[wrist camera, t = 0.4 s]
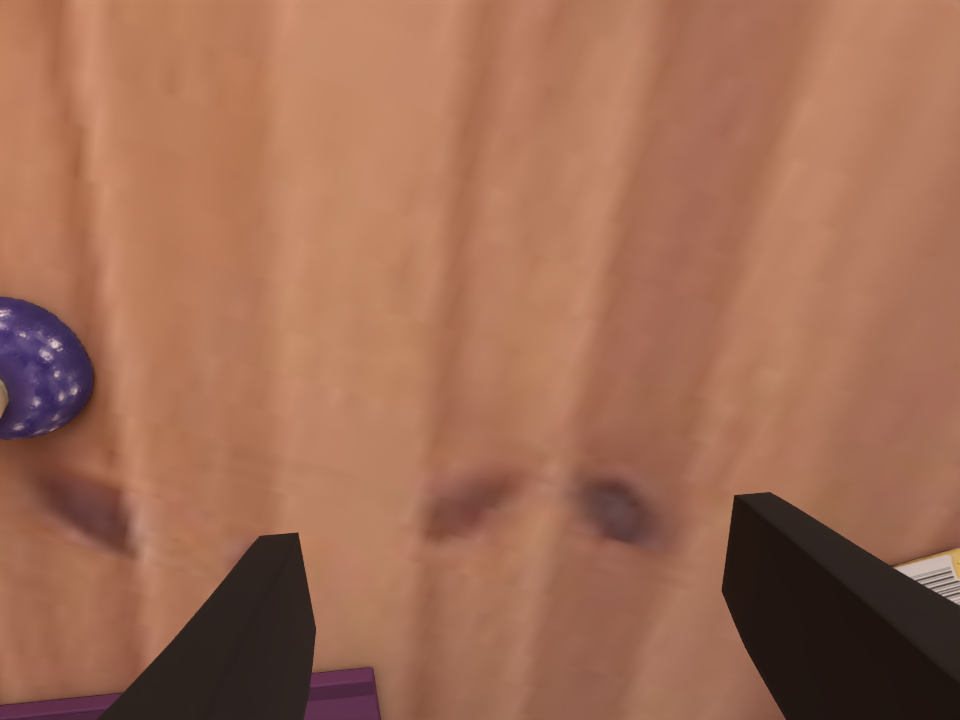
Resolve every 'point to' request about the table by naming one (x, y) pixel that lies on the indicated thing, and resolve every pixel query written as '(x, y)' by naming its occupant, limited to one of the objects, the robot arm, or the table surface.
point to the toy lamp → (39, 371)
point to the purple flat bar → (328, 716)
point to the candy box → (936, 573)
